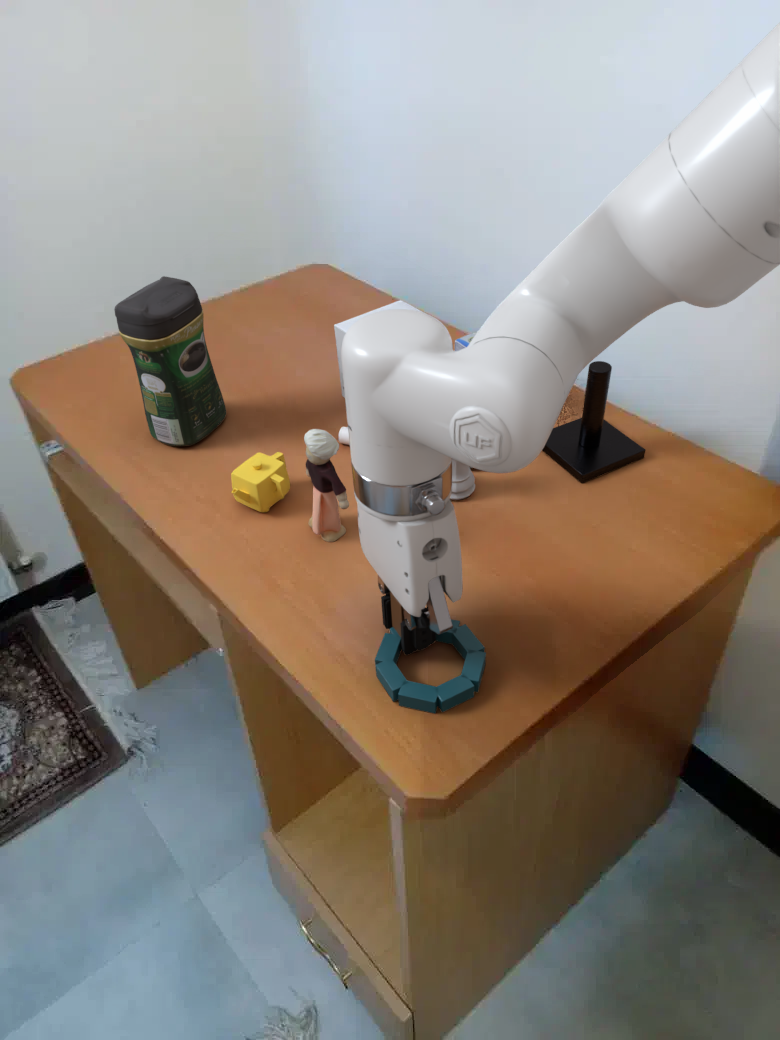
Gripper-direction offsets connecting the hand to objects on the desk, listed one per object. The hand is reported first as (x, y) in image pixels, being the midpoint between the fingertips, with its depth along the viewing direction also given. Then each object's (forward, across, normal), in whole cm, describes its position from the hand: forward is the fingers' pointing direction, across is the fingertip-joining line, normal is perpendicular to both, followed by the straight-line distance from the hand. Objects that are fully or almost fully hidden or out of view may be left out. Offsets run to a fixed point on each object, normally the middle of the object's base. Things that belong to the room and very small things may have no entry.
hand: (409, 633), depth 72 cm
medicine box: (+1, +28, -27) cm, 39 cm away
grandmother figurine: (+1, +17, 0) cm, 17 cm away
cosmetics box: (+1, +38, -18) cm, 42 cm away
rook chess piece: (+1, +16, -15) cm, 22 cm away
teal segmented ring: (+1, -4, 0) cm, 4 cm away
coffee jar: (+1, +44, +7) cm, 45 cm away
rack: (+1, +14, -32) cm, 35 cm away
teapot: (+1, +25, +4) cm, 26 cm away
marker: (+1, +24, -14) cm, 28 cm away
